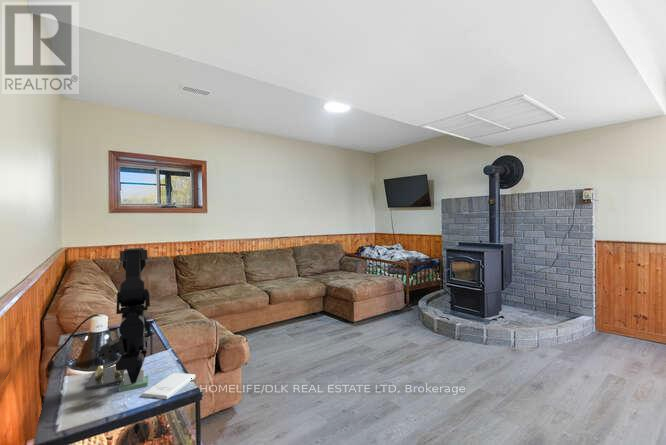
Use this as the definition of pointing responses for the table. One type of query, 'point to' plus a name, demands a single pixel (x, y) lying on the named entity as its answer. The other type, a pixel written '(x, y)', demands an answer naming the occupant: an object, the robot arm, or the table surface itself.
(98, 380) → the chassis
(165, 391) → the external hard drive
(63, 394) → the table surface
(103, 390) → the table surface
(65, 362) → the table surface
